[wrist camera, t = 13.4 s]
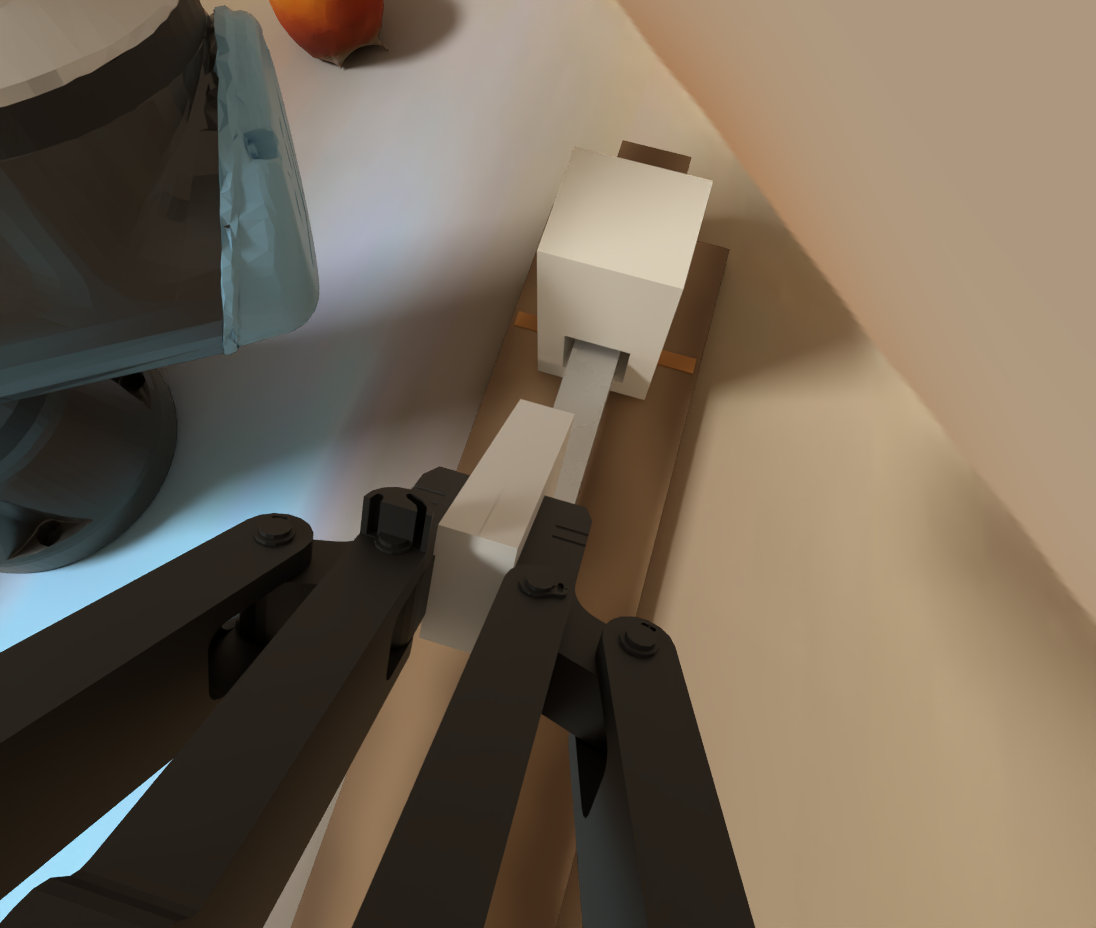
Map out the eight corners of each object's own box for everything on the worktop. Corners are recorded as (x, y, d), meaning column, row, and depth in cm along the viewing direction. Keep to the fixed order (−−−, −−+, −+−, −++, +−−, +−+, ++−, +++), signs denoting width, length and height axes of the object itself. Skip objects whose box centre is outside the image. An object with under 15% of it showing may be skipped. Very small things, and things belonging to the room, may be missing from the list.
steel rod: (371, 972, 30) (354, 1000, 27) (619, 209, 43) (624, 175, 40) (434, 994, 30) (423, 1024, 27) (664, 220, 43) (672, 187, 40)
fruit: (337, 92, 49) (268, -38, 43) (301, 84, 54) (236, -32, 49) (428, 37, 50) (373, -95, 45) (384, 35, 56) (330, -83, 50)
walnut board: (276, 983, 33) (197, 1068, 25) (552, 216, 47) (555, 123, 40) (516, 1071, 32) (509, 1188, 24) (724, 260, 46) (761, 174, 39)
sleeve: (537, 370, 41) (536, 250, 30) (565, 287, 43) (574, 146, 32) (644, 400, 41) (683, 289, 30) (668, 315, 43) (713, 180, 32)
